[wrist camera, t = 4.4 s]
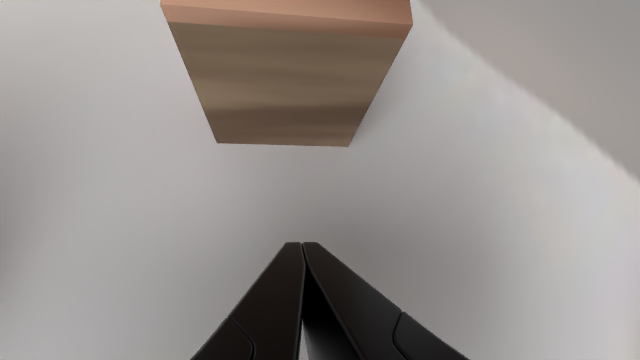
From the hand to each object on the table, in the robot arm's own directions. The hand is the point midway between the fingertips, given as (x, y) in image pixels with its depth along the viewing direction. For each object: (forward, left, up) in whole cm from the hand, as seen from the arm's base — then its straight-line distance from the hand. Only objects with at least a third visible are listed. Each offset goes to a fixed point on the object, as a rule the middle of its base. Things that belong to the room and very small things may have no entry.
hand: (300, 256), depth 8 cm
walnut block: (+8, -3, -8) cm, 11 cm away
